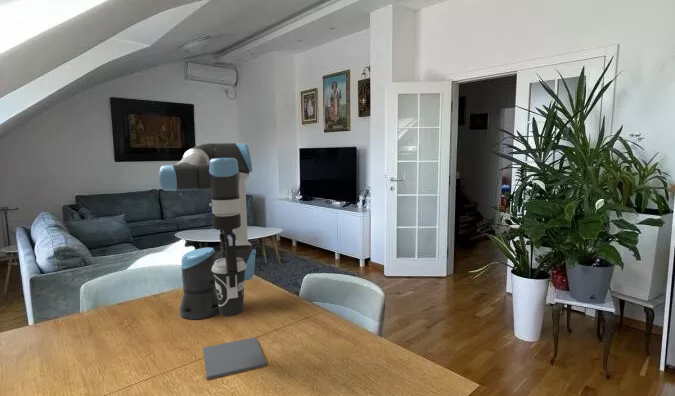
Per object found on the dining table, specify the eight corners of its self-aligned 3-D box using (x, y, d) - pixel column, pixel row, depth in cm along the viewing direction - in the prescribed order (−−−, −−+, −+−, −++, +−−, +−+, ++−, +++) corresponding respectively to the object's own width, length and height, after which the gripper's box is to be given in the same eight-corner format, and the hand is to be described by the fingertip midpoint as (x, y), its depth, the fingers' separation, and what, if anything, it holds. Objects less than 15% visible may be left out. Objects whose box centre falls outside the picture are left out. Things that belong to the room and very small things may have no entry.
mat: (203, 350, 114) (203, 347, 114) (256, 339, 120) (256, 336, 120) (206, 379, 99) (206, 376, 99) (266, 365, 105) (266, 362, 105)
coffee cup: (239, 320, 102) (236, 267, 100) (207, 317, 104) (204, 265, 102) (254, 305, 111) (251, 256, 109) (224, 303, 113) (221, 255, 111)
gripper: (209, 209, 112) (213, 280, 115) (215, 222, 92) (220, 308, 95) (234, 207, 115) (238, 277, 118) (246, 219, 95) (250, 303, 98)
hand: (230, 291), depth 107 cm, fingers closed on coffee cup, 9 cm apart
